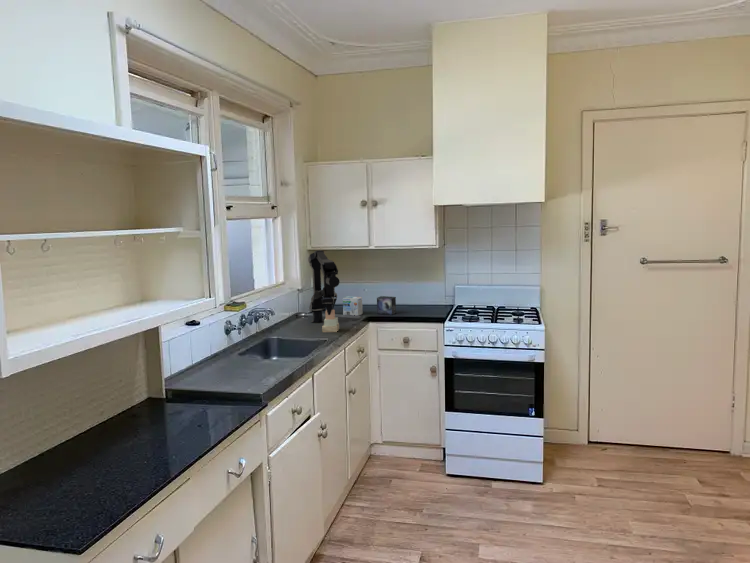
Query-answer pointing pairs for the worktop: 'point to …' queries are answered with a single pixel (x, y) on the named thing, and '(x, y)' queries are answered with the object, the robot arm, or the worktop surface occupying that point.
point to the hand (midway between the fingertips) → (330, 313)
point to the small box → (386, 305)
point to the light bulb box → (352, 306)
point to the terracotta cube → (331, 316)
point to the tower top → (331, 322)
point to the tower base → (330, 328)
